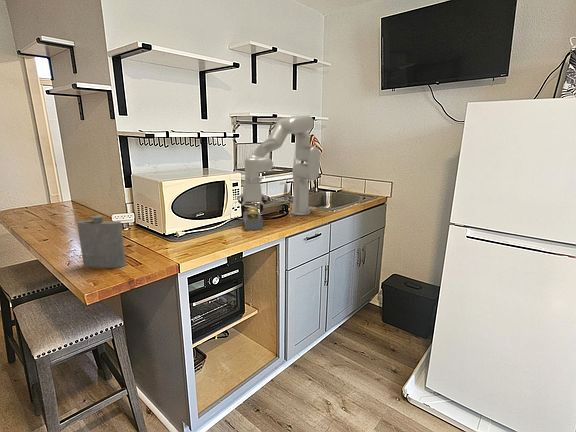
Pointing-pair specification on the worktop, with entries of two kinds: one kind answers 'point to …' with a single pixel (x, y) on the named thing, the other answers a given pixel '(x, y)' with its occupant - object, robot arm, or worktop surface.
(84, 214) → the worktop surface
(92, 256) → the hip flask
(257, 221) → the gray slotted box
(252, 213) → the light bulb
